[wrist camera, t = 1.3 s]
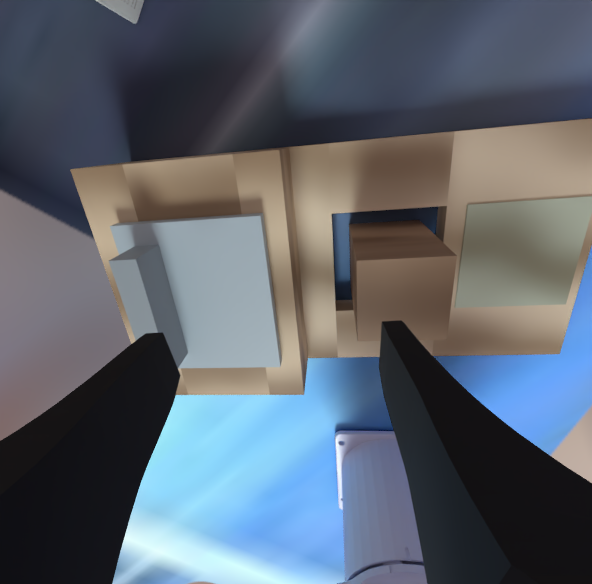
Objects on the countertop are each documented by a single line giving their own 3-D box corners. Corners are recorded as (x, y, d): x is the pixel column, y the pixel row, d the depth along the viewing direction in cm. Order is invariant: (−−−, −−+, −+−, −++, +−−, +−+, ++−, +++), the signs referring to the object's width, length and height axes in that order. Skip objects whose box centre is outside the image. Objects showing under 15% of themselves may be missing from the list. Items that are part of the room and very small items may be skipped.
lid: (281, 360, 18) (274, 393, 16) (161, 362, 19) (137, 393, 17) (262, 212, 15) (250, 227, 12) (117, 222, 16) (79, 238, 13)
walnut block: (414, 282, 21) (447, 339, 15) (350, 285, 21) (357, 341, 16) (418, 219, 19) (457, 255, 13) (349, 224, 20) (356, 260, 14)
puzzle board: (545, 340, 22) (601, 394, 17) (182, 347, 25) (149, 394, 20) (604, 116, 16) (709, 109, 12) (131, 161, 19) (70, 169, 15)
